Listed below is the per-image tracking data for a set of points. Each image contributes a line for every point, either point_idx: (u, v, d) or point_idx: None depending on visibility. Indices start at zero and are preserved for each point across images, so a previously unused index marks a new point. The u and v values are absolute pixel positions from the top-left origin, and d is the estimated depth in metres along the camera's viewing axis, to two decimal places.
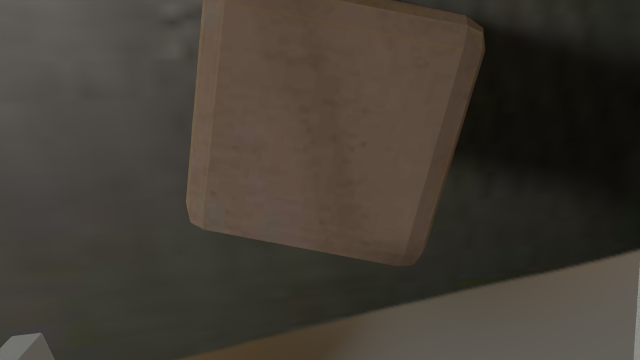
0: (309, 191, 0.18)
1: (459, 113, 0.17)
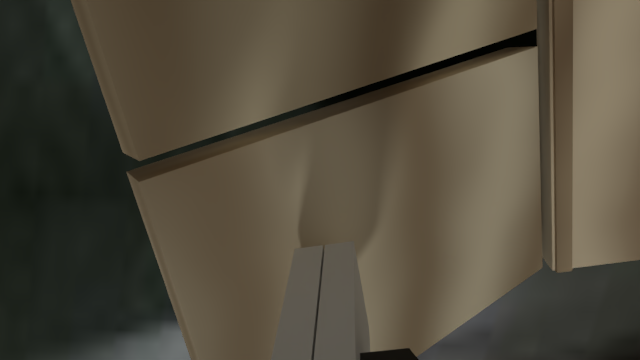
0: None
1: None
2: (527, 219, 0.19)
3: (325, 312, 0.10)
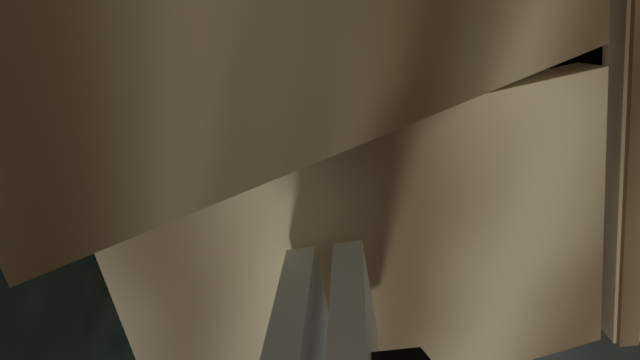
0: None
1: None
2: (576, 279, 0.15)
3: (335, 311, 0.10)
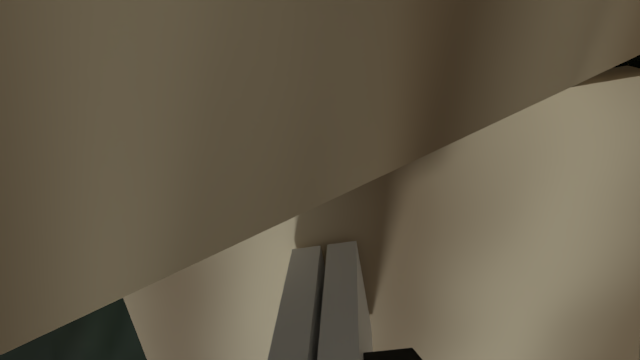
0: None
1: None
2: (607, 313, 0.13)
3: (328, 312, 0.10)
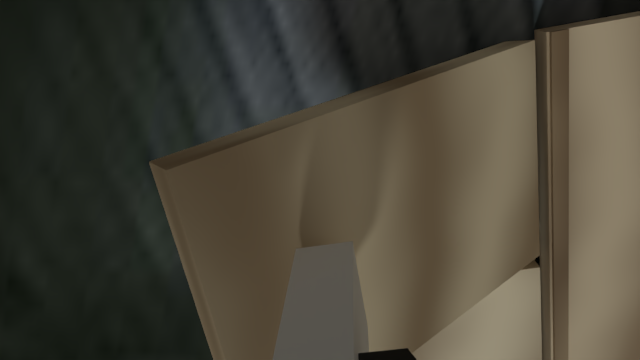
0: None
1: None
2: None
3: (323, 312, 0.10)
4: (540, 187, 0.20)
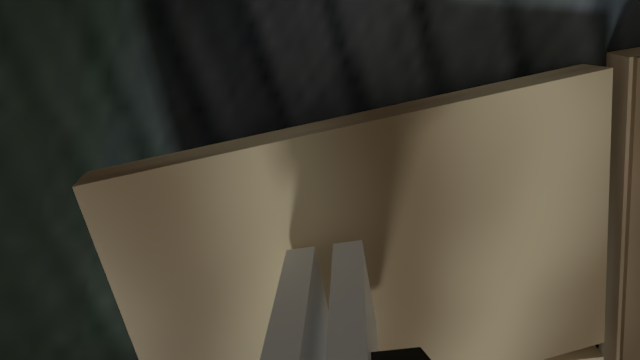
0: None
1: None
2: None
3: (335, 311, 0.10)
4: None
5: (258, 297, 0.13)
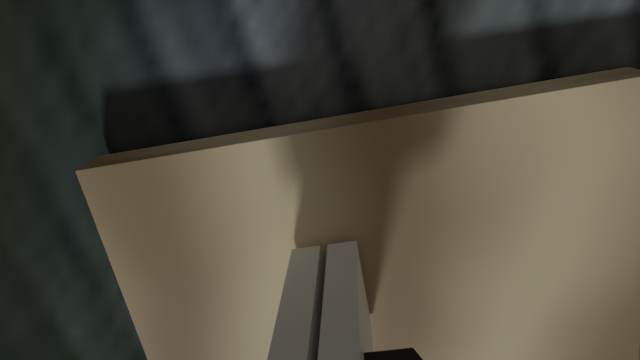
0: None
1: None
2: None
3: (328, 312, 0.10)
4: None
5: (248, 290, 0.13)
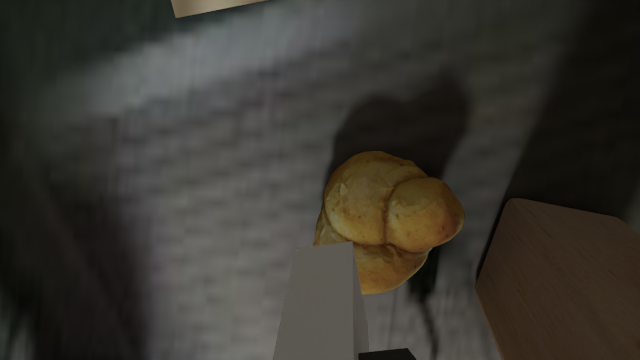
0: None
1: None
2: None
3: (323, 312, 0.10)
4: None
5: None
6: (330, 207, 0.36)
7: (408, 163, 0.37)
